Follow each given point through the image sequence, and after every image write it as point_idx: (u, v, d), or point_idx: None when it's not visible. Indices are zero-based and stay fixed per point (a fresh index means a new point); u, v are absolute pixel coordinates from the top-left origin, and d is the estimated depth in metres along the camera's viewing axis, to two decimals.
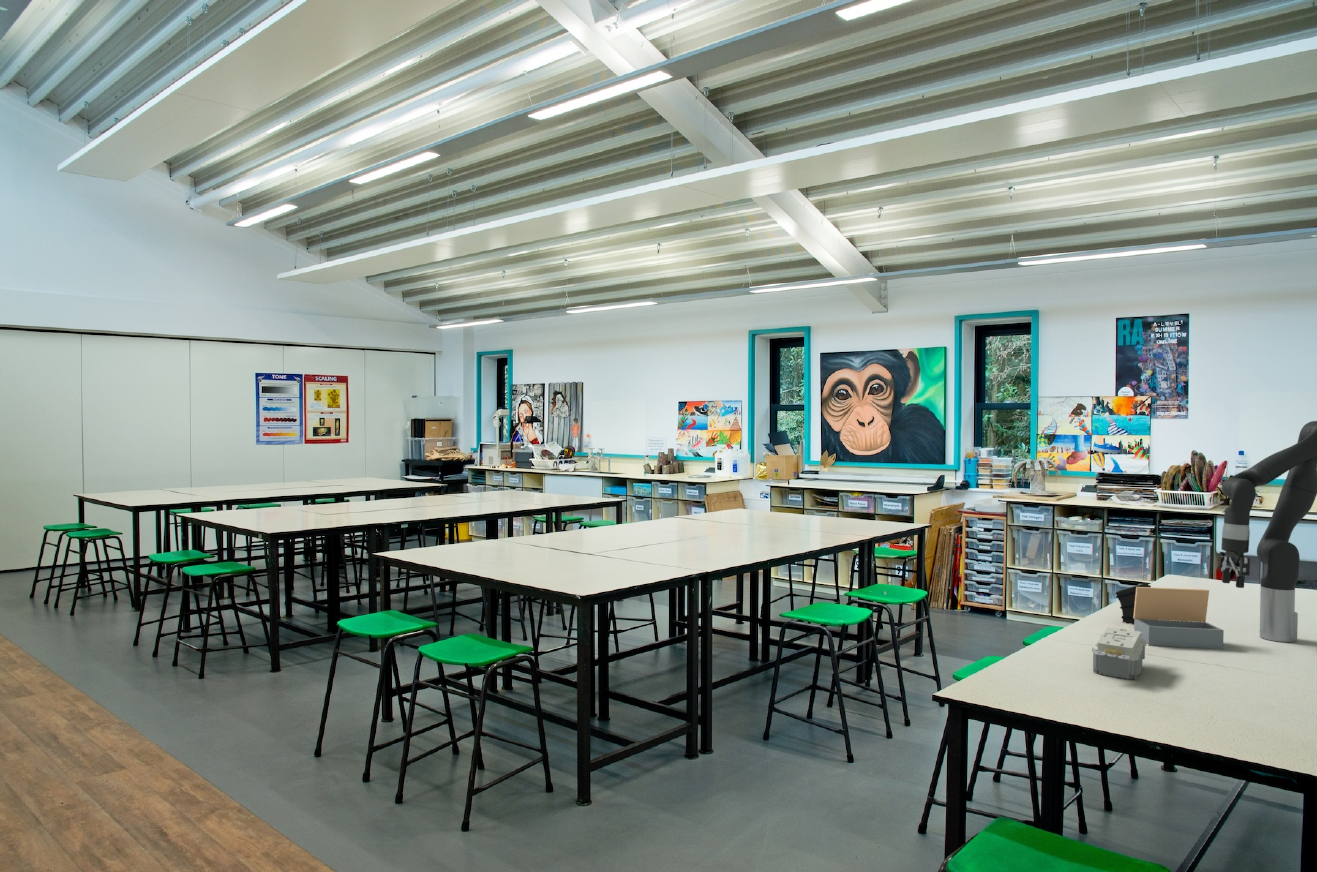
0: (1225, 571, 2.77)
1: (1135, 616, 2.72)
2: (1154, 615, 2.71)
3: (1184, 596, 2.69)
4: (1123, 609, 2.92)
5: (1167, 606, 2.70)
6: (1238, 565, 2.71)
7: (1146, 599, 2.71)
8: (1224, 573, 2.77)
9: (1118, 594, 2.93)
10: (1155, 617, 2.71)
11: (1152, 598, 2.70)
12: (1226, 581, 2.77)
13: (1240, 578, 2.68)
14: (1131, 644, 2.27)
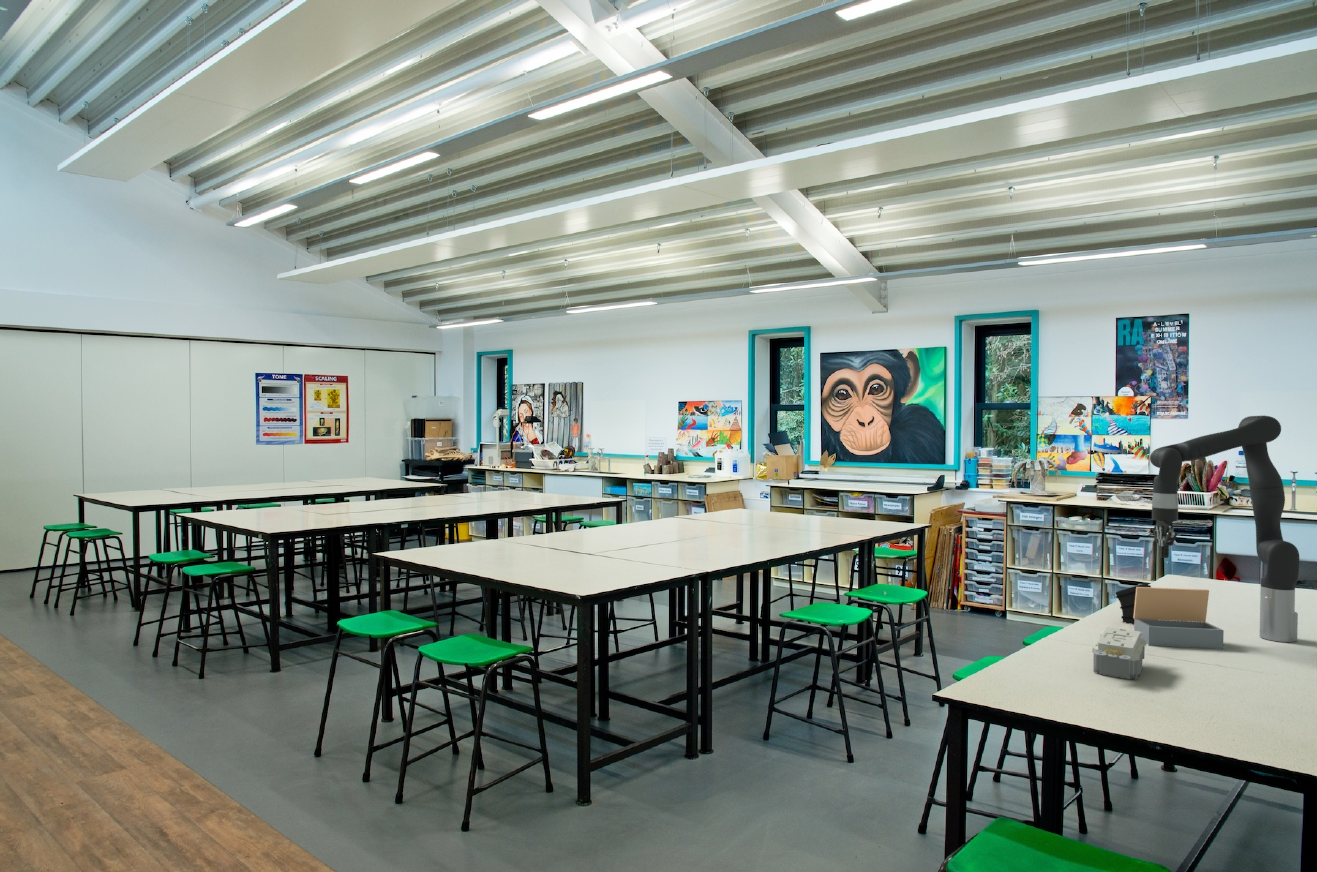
0: None
1: (1135, 616, 2.72)
2: (1154, 615, 2.71)
3: (1184, 596, 2.69)
4: (1123, 609, 2.92)
5: (1167, 606, 2.70)
6: (1166, 535, 2.74)
7: (1146, 599, 2.71)
8: None
9: (1118, 594, 2.93)
10: (1155, 617, 2.71)
11: (1152, 598, 2.70)
12: None
13: (1164, 548, 2.74)
14: (1132, 644, 2.27)
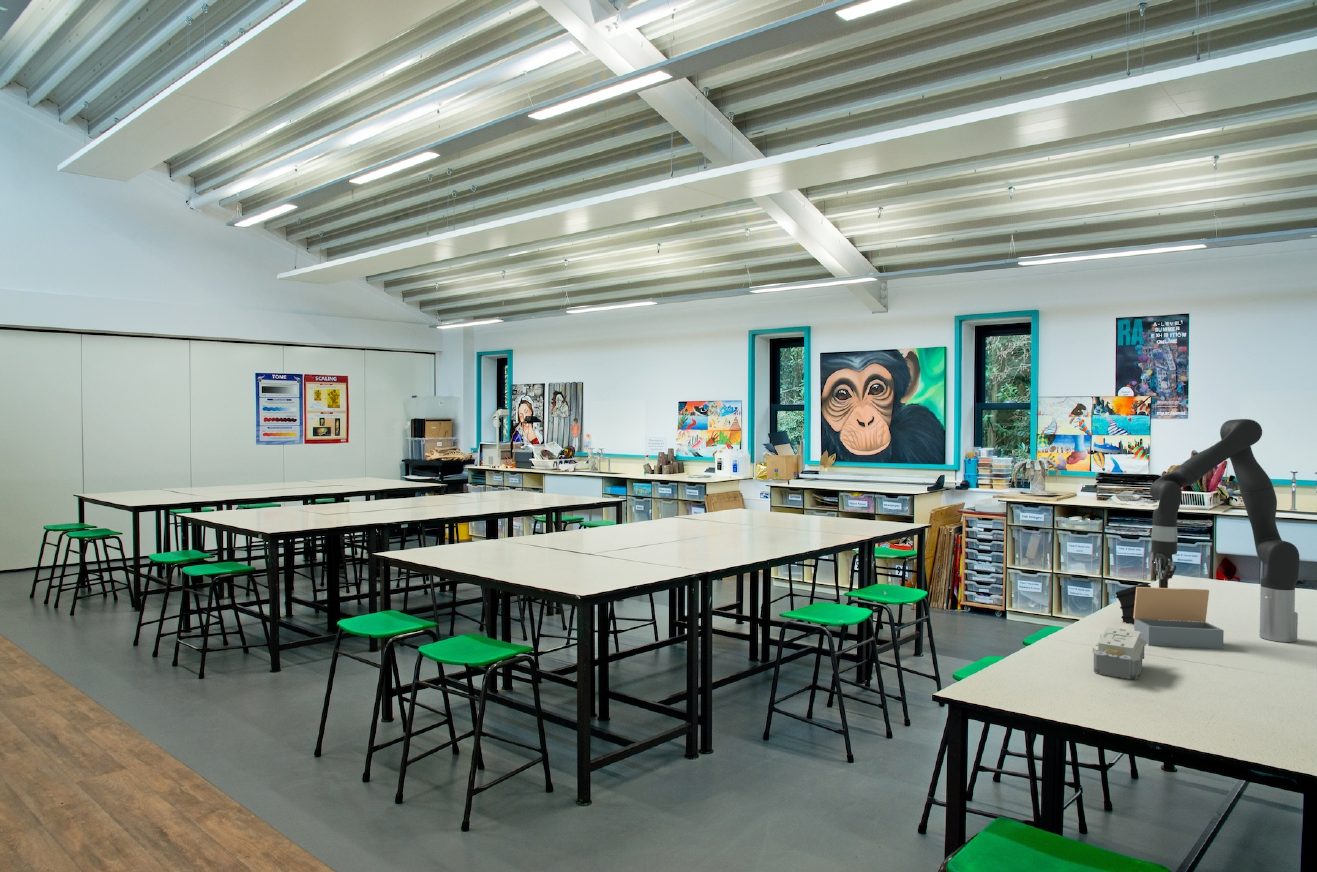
0: None
1: (1135, 616, 2.72)
2: (1154, 615, 2.71)
3: (1184, 596, 2.69)
4: (1123, 609, 2.92)
5: (1167, 606, 2.70)
6: None
7: (1146, 599, 2.71)
8: None
9: (1118, 594, 2.93)
10: (1155, 617, 2.71)
11: (1152, 598, 2.70)
12: None
13: (1163, 581, 2.74)
14: (1132, 644, 2.27)
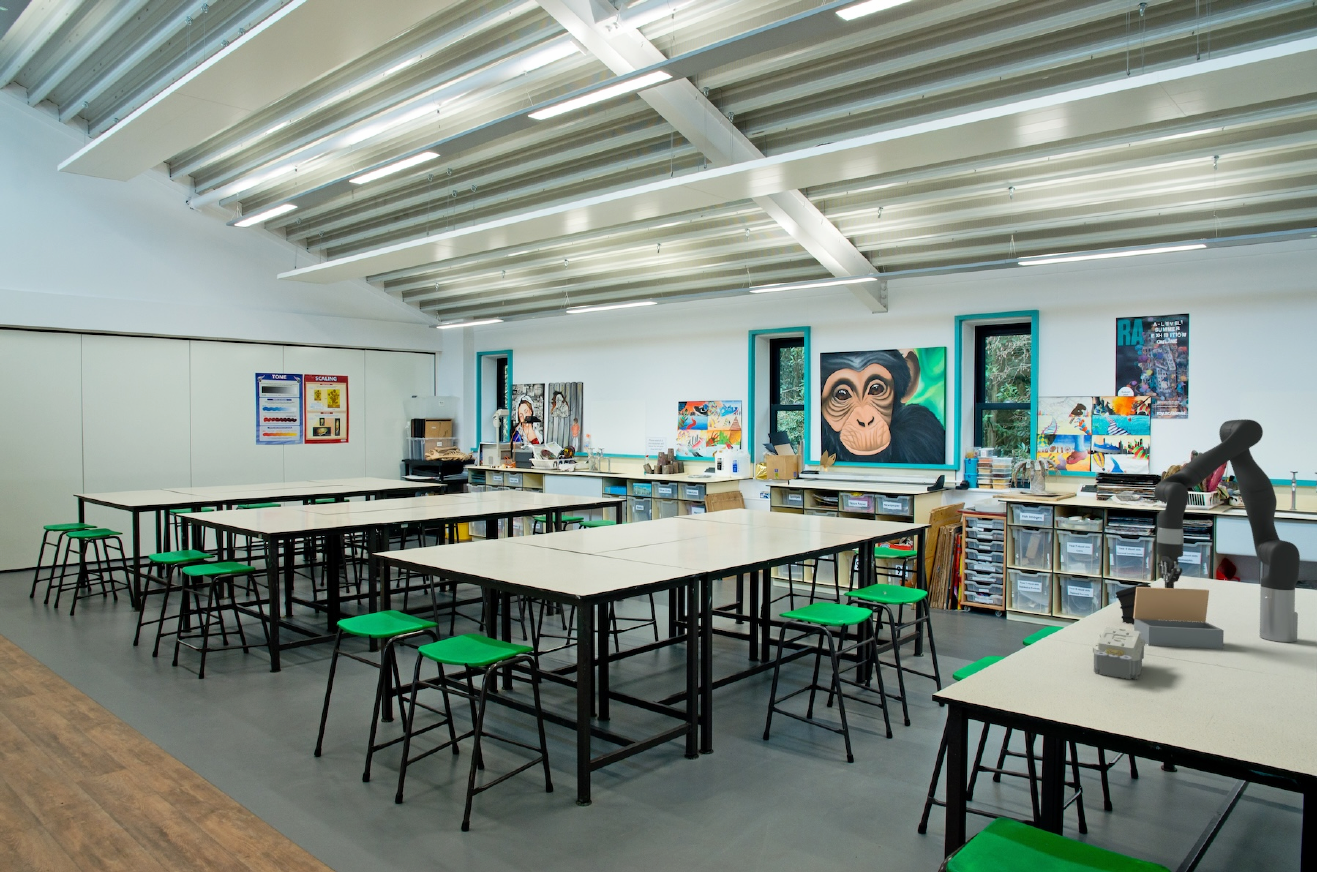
0: None
1: (1135, 616, 2.72)
2: (1154, 615, 2.71)
3: (1184, 596, 2.69)
4: (1123, 609, 2.92)
5: (1167, 606, 2.70)
6: None
7: (1146, 599, 2.71)
8: None
9: (1118, 594, 2.93)
10: (1155, 617, 2.71)
11: (1152, 598, 2.70)
12: None
13: (1169, 584, 2.70)
14: (1132, 644, 2.27)
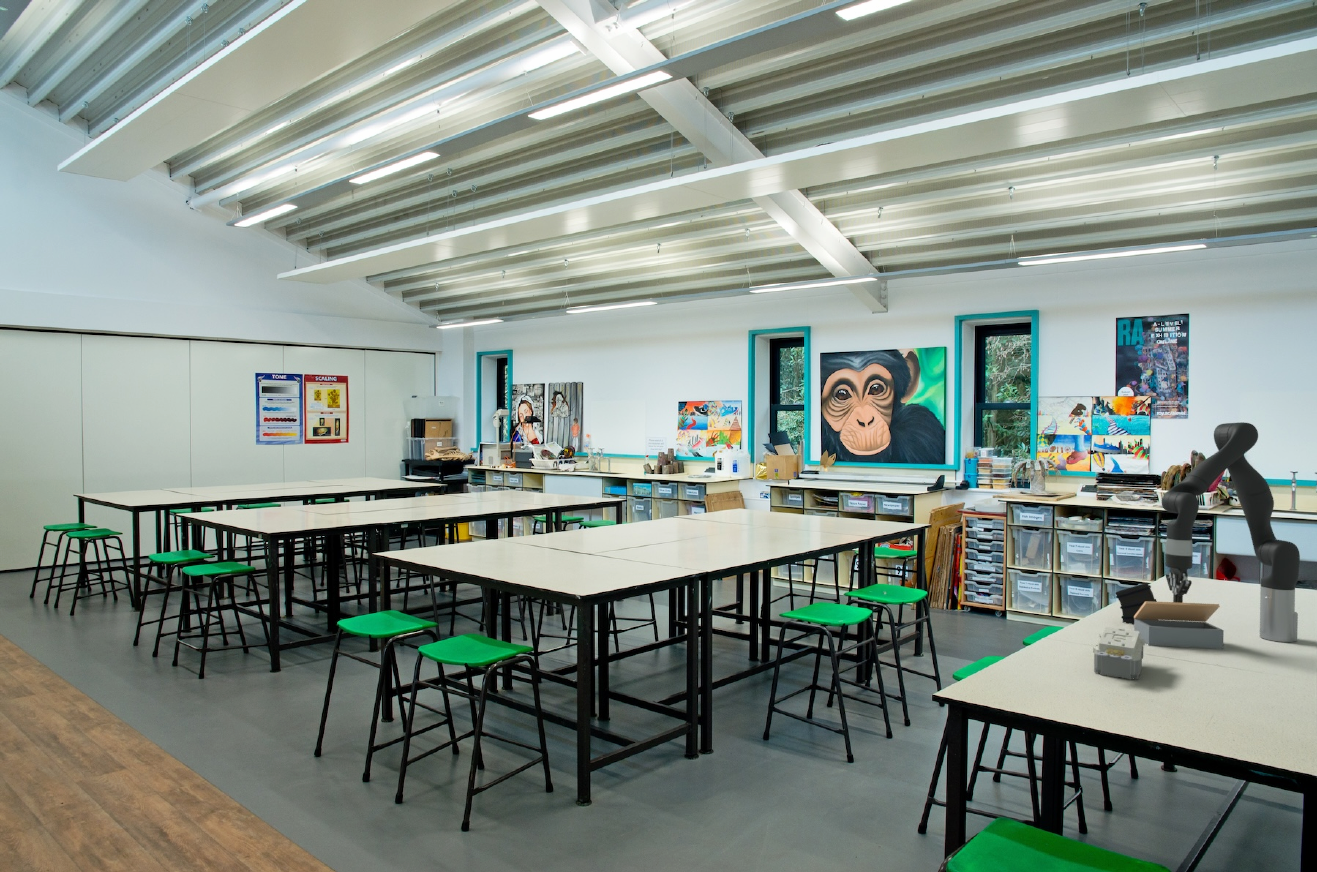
0: None
1: (1136, 617, 2.72)
2: (1155, 617, 2.70)
3: (1192, 608, 2.64)
4: (1123, 609, 2.92)
5: (1171, 613, 2.67)
6: None
7: (1152, 609, 2.66)
8: None
9: (1118, 594, 2.93)
10: (1156, 618, 2.71)
11: (1158, 609, 2.66)
12: None
13: (1178, 596, 2.64)
14: (1132, 644, 2.27)
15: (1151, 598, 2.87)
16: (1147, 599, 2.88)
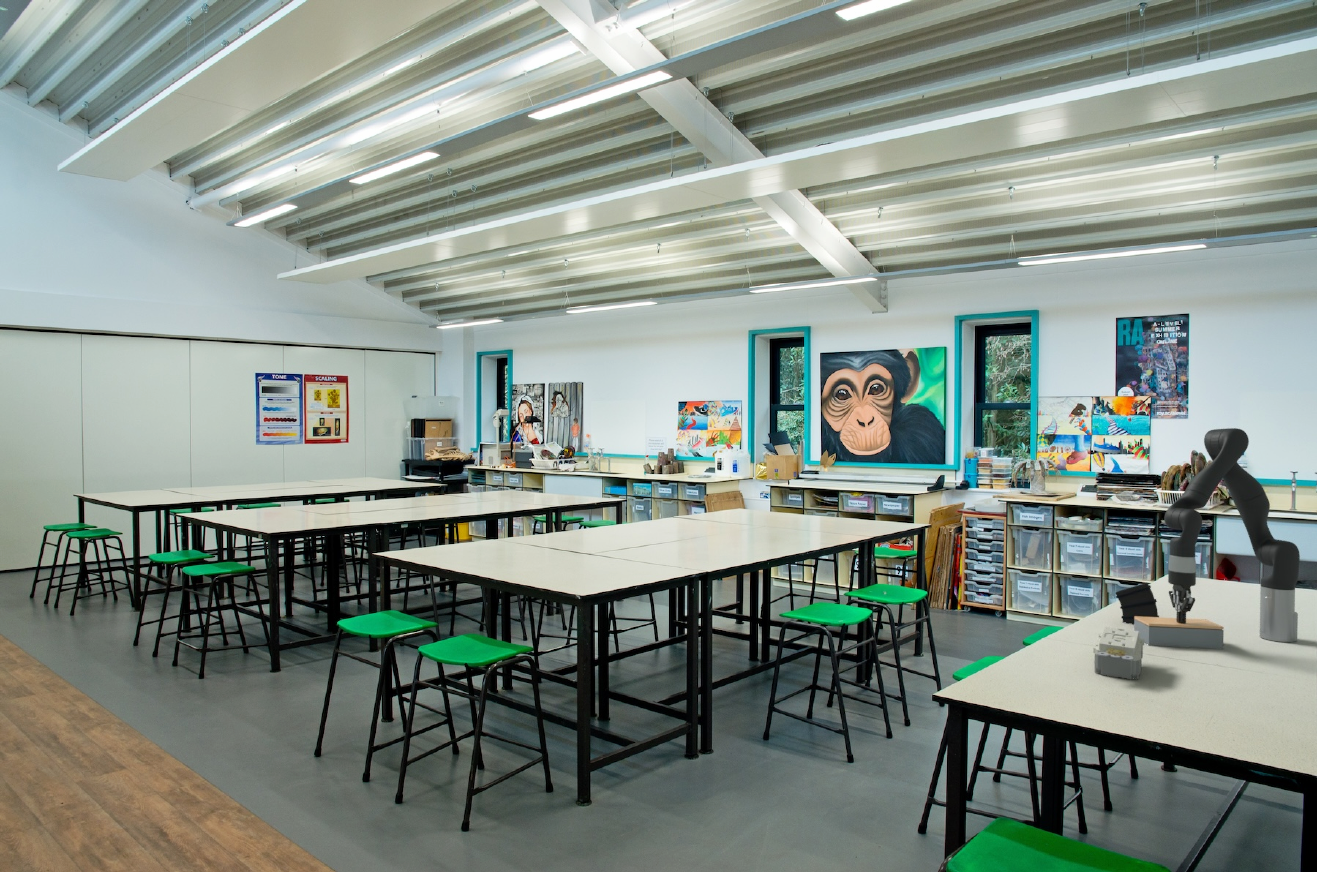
0: None
1: (1136, 619, 2.71)
2: None
3: None
4: (1123, 609, 2.92)
5: None
6: None
7: None
8: None
9: (1118, 594, 2.93)
10: None
11: None
12: None
13: (1181, 614, 2.62)
14: (1133, 644, 2.27)
15: (1151, 598, 2.87)
16: (1147, 599, 2.88)
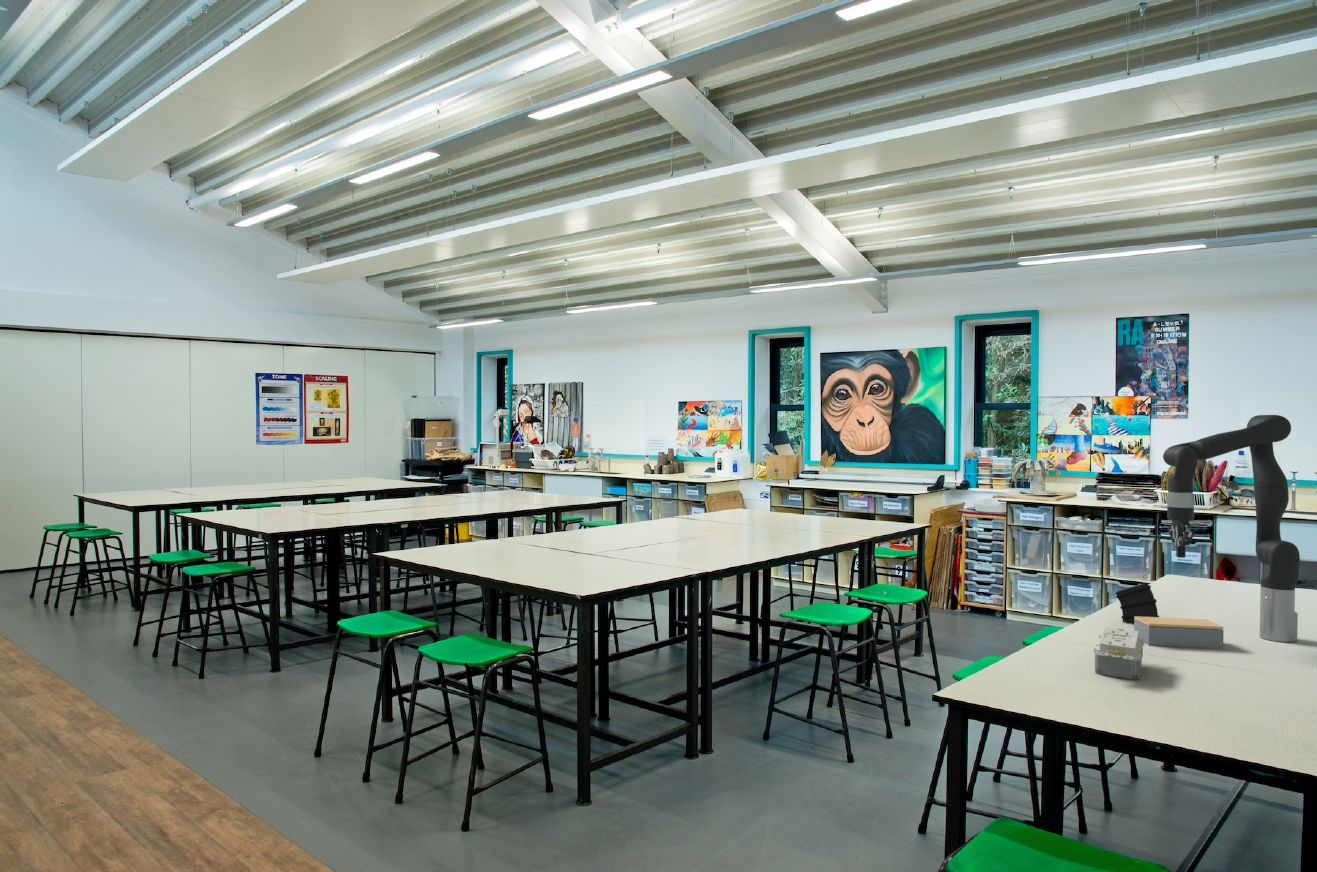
0: None
1: (1136, 619, 2.71)
2: None
3: None
4: (1123, 609, 2.92)
5: None
6: None
7: None
8: None
9: (1118, 594, 2.93)
10: None
11: None
12: None
13: (1181, 548, 2.70)
14: (1133, 644, 2.27)
15: (1151, 598, 2.87)
16: (1147, 599, 2.88)
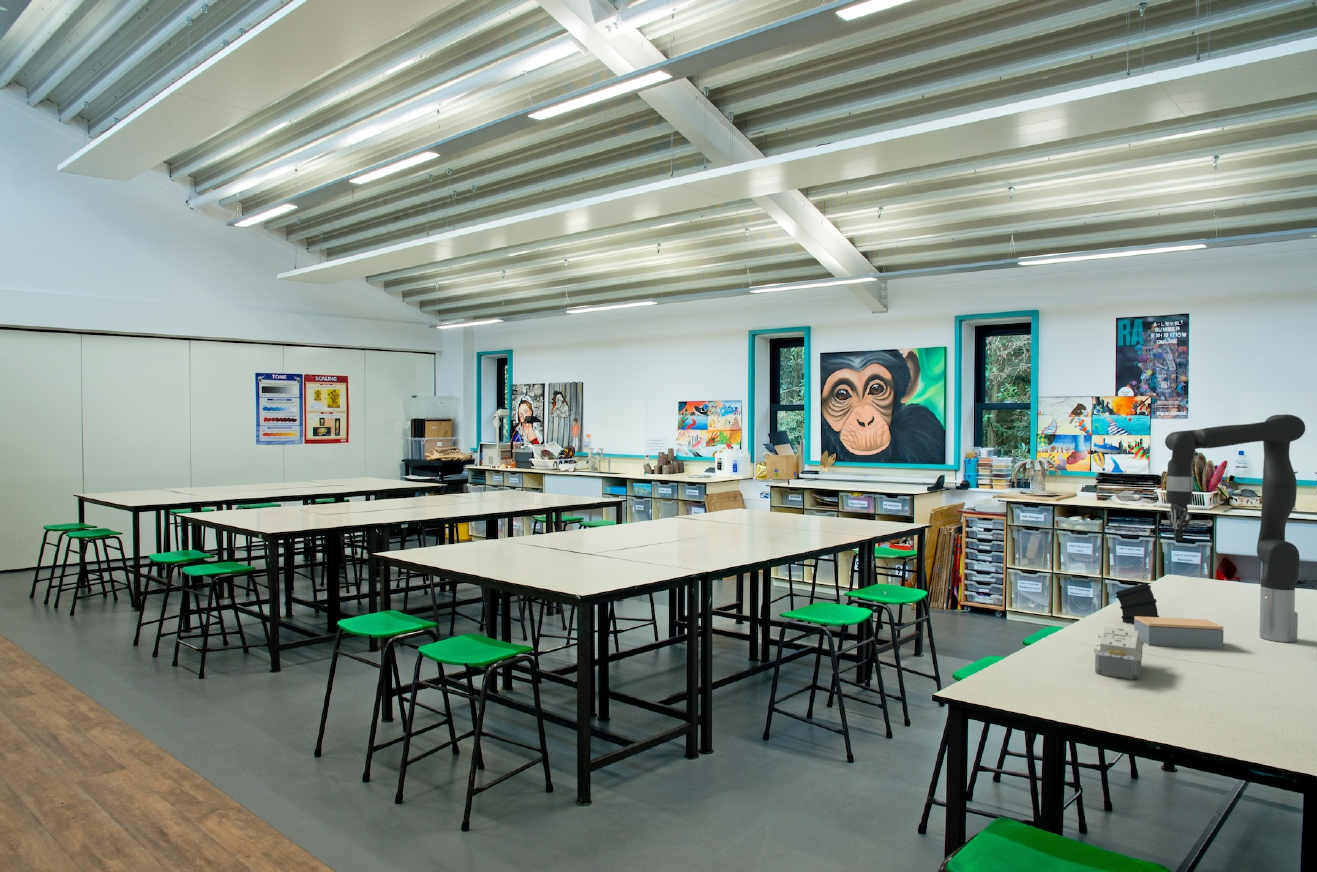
0: None
1: (1136, 619, 2.71)
2: None
3: None
4: (1123, 609, 2.92)
5: None
6: (1180, 517, 2.77)
7: None
8: None
9: (1118, 594, 2.93)
10: None
11: None
12: None
13: (1179, 531, 2.77)
14: (1133, 644, 2.27)
15: (1151, 598, 2.87)
16: (1147, 599, 2.88)
